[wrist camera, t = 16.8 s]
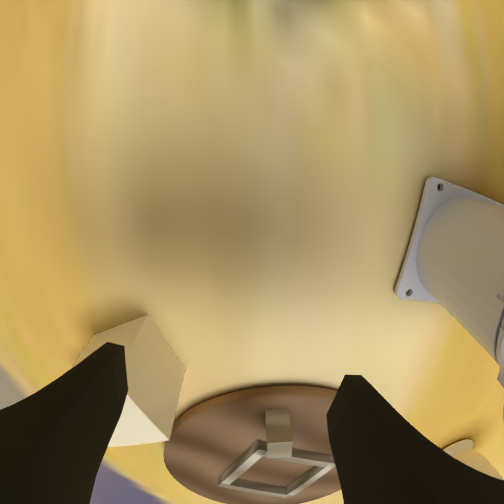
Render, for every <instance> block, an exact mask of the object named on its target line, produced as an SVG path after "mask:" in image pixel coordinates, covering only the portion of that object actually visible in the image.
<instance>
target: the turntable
mask: <svg viewBox="0 0 504 504" xmlns="http://www.w3.org/2000/svg"><path fill="white" fill-rule="evenodd" d="M336 393H337V391H335V390H331V389H327V388H320V387H312V386H294V385H292V386H270V387H260V388H253V389H247V390H241V391H237V392H233V393H229V394H225V395H221V396H219V397H216V398H213V399H210V400H207V401H205V402H203V403H201V404H199V405H197V406H195V407H193V408H192V409H190V410H188V411H187V412H185V413H184V414H183V415H182V416H180V417H179V418H178V419H177V420H176V421H175V423H174V424H173V427H172V431H171V436H170V440H168V441H166V444H165V449H164V462H165V465H166V467H167V469H168V471H169V472H170V474H171V475H172V476H173V477H174V478H175V479H176V480H177V481H178V482H179V483H180V484H182V485H183V486H184V487H186V488H187V489H189V490H191V491H193V492H194V493H196V494H198V495H201V496H203V497H206V498H208V499H211V500H215V501H218V502H222V503H226V504H299V503H304V502H308V501H312V500H315V499H319V498H321V497H324V496H327V495H330V494H332V493H334V492H336V491H339V490H341V485H340V481H339V477H338V473H337V470H336V466H335V462H334V458H333V454H332V450H331V446H330V442H329V436H328V428H327V417H326V414H327V412H328V410H329V408H330V406H331V404H332V402H333V400H334V398H335V396H336Z"/></svg>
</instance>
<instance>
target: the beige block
mask: <svg viewBox="0 0 504 504" xmlns="http://www.w3.org/2000/svg"><path fill="white" fill-rule="evenodd" d="M106 342H110V343H115V344H119V345H123V346H124V347H125V361H126V372H127V382H128V393H127V396H126V400H125V403H124V407H123V410H122V414H121V416H120V419H119V421H118V423H117V426H116V428H115V430H114V433H113V435H112V437H111V440H110V442H109V444H108V447H117V446H128V445H137V444H146V443H154V442H161V441H168V440H170V436H171V431H172V427H173V422H174V418H175V413H176V409H177V404H178V400H179V396H180V391H181V387H182V383H183V379H184V374H185V368H184V367H183V365H182V364H181V363H180V361H179V360H178V358H177V357H176V355H175V354H174V352H173V351H172V350H171V348H170V347H169V345H168V344H167V342H166V341H165V339H164V338H163V336H162V335H161V333H160V332H159V330H158V329H157V327H156V326H155V324H154V322H153V321H152V319H151V318H150V316H149V315H148V314H147V315H145V316H142V317H139V318H137V319H134V320H132V321H129V322H126V323H124V324H121V325H118V326H116V327H113V328H110V329H108V330H105V331H102V332H100V333H97V334H94V336H93V337H92V339H91V340H90V342H89V343H88V344H87V346H86V347H85V349H84V350H83V352H82V353H81V355H80V356H79V358H78V359H77V361H76V362H75V364H74V365H73V367H74V366H76V365H77V364H78V363H80V362H81V361H82V360H84V359H85V358H86V357H88V356H89V355H90V354H91V353H93V352H94V351H95V350H97V349H98V348H99V347H101V346H102V345H103V344H105V343H106ZM73 367H72V368H73ZM72 368H71V369H72Z"/></svg>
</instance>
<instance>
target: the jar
mask: <svg viewBox="0 0 504 504" xmlns="http://www.w3.org/2000/svg"><path fill="white" fill-rule="evenodd" d="M443 451H444V452H446V453H447V454H449V455H451V456H452V457H454V458H455V459H457V460H459V461H461V462H462V463H464V464H466V465H468V466H470V467H472V468H474V469H476V470H478V471H480V472H482V473H485V474H487V475H489V476H492V477H495V478H498V479H501V480H503V478H502V476H501V475H500V474H499V472H498V471H497V470H496V469H495V468H494V467H493V466H492V465H491V464H490V462H489V461H488V460H487V459H486V458H485V457H484V456H483V455H482V454H480V453H478V452H477V451H473V441H472V440H469V439H465V440H461V441H458V442H456V443H454V444H452V445H450V446H448V447H446V448H444V449H443Z"/></svg>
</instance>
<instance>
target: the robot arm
mask: <svg viewBox="0 0 504 504" xmlns="http://www.w3.org/2000/svg"><path fill="white" fill-rule="evenodd" d="M439 183H440V189H439V190H438V189H437V186H438V184H439ZM409 289H410V291H409V292H408V293H407V294H406V292H407V290H409ZM394 292H395V295H396V296H397V297H398V298H400V299H409V300H417V301H426V302H435V303H440V304H441V305H442V306H443V307H444V308H445V309H446V310H447V311H448V312H449V313H450V314H451V315H452V316H453V317H454V318H455V319H456V320H457V321H458V322H459V323H460V324H461V325H462V326H463V327H464V328H465V329H466V330H467V331H468V332H469V333H470V334H471V335H472V336H473V337H474V338H475V339H476V341H477V342H478V343H479V344H480V345H481V346H482V347H483V348H484V349H485V350H486V351H487V352H488V353H489V354H490V356H491V357H492V358H493V359H494V360H495V361H496V362H497V363H498V364H499V367H500V371H499V375H498V378H497V380H498V381H499V383H500V384H501V385H502V386H503V387H504V205H503V204H501V203H499V202H497V201H494V200H492V199H490V198H488V197H485V196H483V195H480V194H478V193H476V192H473V191H471V190H468V189H466V188H463V187H460V186H458V185H455V184H453V183H450V182H447V181H444V180H442V179H439V178H436V177H428V179H427V180H426V182H425V186H424V191H423V195H422V199H421V203H420V207H419V211H418V215H417V219H416V223H415V226H414V230H413V233H412V237H411V240H410V244H409V247H408V250H407V254H406V257H405V260H404V263H403V266H402V269H401V272H400V275H399V278H398V281H397V284H396V287H395V291H394ZM127 393H128V382H127V372H126V361H125V347H124V346H123V345H119V344H115V343H110V342H106V343H105V344H103V345H102V346H101V347H99V348H98V349H97V350H95V351H94V352H93V353H91V354H90V355H89V356H88V357H86V358H85V359H84V360H82V361H81V362H80V363H78V364H77V365H76V366H74V367H73V368H72V369H70V370H69V371H67V372H66V373H65V374H63V375H62V376H61V377H59V378H58V379H56V380H55V381H53V382H52V383H50V384H48V385H47V386H45V387H44V388H42V389H41V390H39V391H38V392H36V393H34V394H32V395H31V396H29V397H27V398H25V399H23V400H21V401H19V402H17V403H15V404H13V405H11V406H9V407H6V408H4V409H2V410H0V504H89V503H90V498H91V494H92V490H93V486H94V482H95V478H96V475H97V472H98V469H99V466H100V463H101V461H102V459H103V456H104V454H105V451H106V449H107V447H108V444H109V442H110V440H111V437H112V435H113V433H114V430H115V428H116V426H117V423H118V421H119V419H120V416H121V414H122V410H123V407H124V403H125V400H126V396H127ZM326 417H327V428H328V436H329V442H330V446H331V450H332V454H333V458H334V462H335V466H336V470H337V473H338V477H339V481H340V485H341V489H342V494H343V499H344V504H504V480H501V479H498V478H495V477H492V476H489V475H487V474H485V473H482V472H480V471H478V470H476V469H474V468H472V467H470V466H468V465H466V464H464V463H462V462H461V461H459V460H457V459H455V458H454V457H452V456H451V455H449V454H447V453H446V452H444V451H443V450H442V449H440V448H439V447H438V446H436V445H435V444H433V443H432V442H431V441H429V440H428V439H427V438H426V437H424V436H423V435H422V434H421V433H420V432H419V431H417V430H416V429H415V428H414V427H413V426H412V425H411V424H410V423H409V422H407V421H406V420H405V419H404V418H403V417H402V416H401V415H400V414H399V413H398V412H397V411H396V410H395V409H394V408H393V407H392V406H391V405H390V404H389V403H388V402H387V401H386V400H385V399H384V398H383V397H382V396H381V395H380V394H379V393H378V391H377V390H376V389H375V388H374V387H373V386H372V385H371V384H370V383H369V382H368V381H367V380H366V379H365V378H364V377H362V376H361V375H345V376H344V378H343V381H342V383H341V385H340V387H339V389H338V391H337V393H336V396H335V398H334V400H333V402H332V404H331V406H330V408H329V410H328V412H327V414H326ZM503 420H504V406H503Z"/></svg>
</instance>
